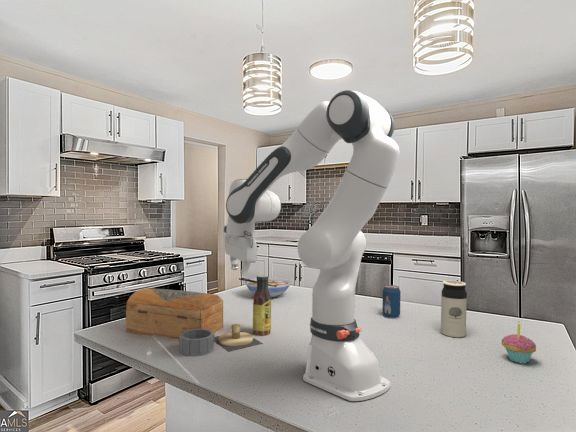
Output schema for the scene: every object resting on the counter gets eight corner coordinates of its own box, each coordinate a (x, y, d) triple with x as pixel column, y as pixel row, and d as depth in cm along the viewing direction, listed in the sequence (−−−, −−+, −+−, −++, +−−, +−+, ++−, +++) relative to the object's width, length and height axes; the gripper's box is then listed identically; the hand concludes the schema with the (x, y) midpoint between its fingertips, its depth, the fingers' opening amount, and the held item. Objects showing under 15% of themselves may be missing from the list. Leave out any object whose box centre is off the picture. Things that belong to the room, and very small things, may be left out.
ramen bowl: (302, 296, 181) (302, 280, 181) (268, 305, 164) (268, 287, 164) (267, 288, 198) (267, 273, 198) (233, 296, 181) (233, 279, 181)
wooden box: (225, 328, 134) (226, 290, 133) (200, 344, 118) (200, 300, 118) (157, 319, 144) (157, 283, 144) (125, 332, 128) (125, 292, 128)
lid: (259, 342, 119) (259, 326, 118) (227, 349, 112) (227, 333, 112) (242, 332, 128) (242, 318, 127) (212, 339, 121) (212, 323, 121)
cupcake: (536, 368, 102) (537, 325, 101) (500, 361, 106) (501, 320, 106) (535, 358, 109) (536, 317, 109) (501, 352, 113) (502, 312, 113)
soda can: (399, 314, 153) (399, 285, 152) (401, 319, 146) (401, 288, 146) (381, 313, 154) (382, 284, 154) (382, 318, 147) (383, 287, 147)
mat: (263, 344, 118) (263, 343, 118) (228, 353, 111) (228, 351, 111) (242, 332, 129) (242, 331, 129) (209, 339, 122) (209, 337, 122)
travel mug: (442, 328, 135) (443, 279, 134) (466, 332, 131) (467, 281, 130) (439, 335, 128) (440, 283, 127) (464, 339, 124) (465, 285, 123)
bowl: (219, 352, 111) (219, 335, 111) (186, 359, 105) (186, 342, 105) (206, 342, 119) (206, 326, 119) (175, 348, 114) (175, 332, 113)
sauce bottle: (268, 337, 124) (268, 278, 124) (250, 336, 125) (250, 277, 125) (273, 331, 130) (273, 274, 130) (255, 329, 132) (256, 273, 131)
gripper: (262, 233, 112) (260, 278, 113) (239, 226, 130) (237, 266, 131) (243, 233, 109) (241, 279, 110) (221, 226, 127) (220, 267, 128)
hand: (239, 272), depth 120 cm, fingers open, 8 cm apart
